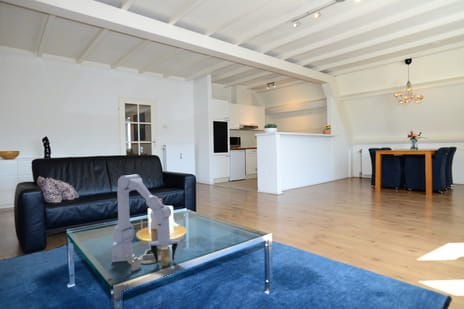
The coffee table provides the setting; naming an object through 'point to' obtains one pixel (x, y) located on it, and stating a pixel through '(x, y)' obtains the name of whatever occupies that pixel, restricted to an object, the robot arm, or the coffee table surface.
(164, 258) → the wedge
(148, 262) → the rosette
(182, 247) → the coffee table surface
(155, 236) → the fruit juice
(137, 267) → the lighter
